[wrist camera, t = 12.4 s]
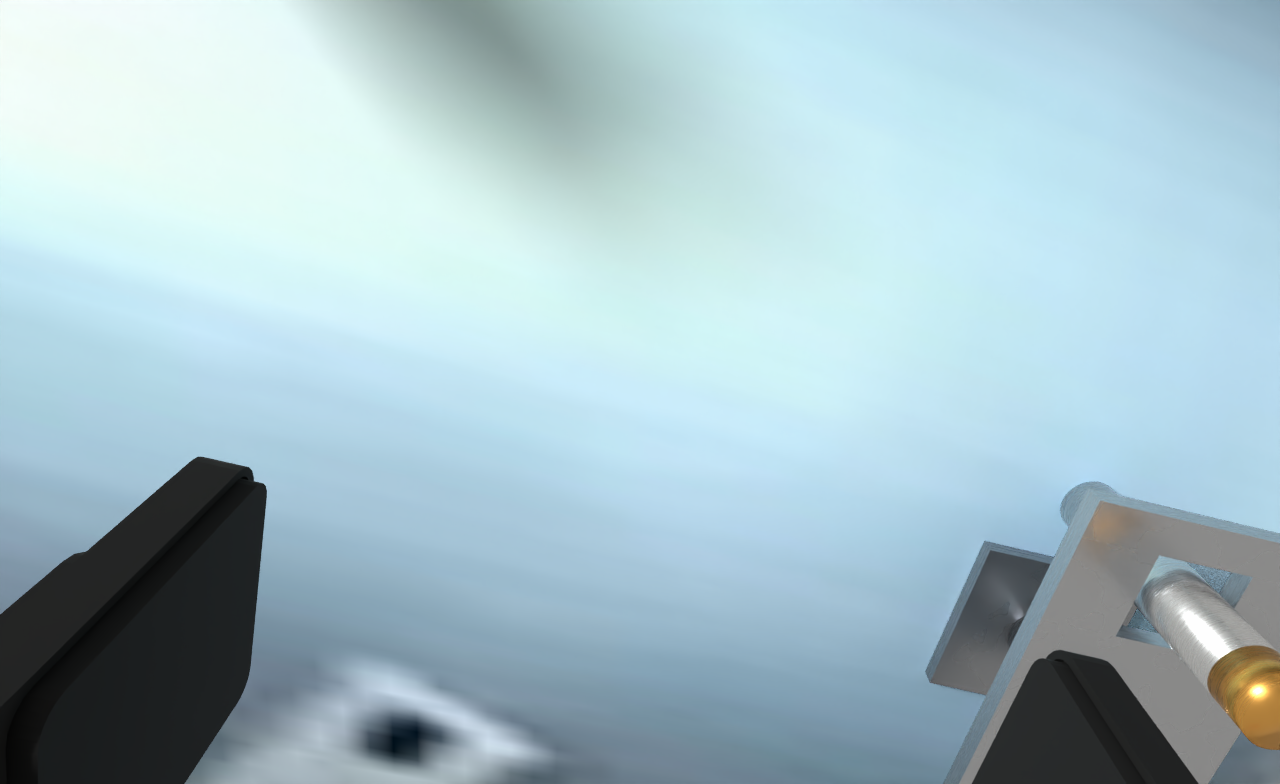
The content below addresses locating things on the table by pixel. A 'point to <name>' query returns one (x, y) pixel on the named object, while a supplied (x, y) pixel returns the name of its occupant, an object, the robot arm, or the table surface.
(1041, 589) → the plate with square hole
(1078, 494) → the pin
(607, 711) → the table surface
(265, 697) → the table surface
